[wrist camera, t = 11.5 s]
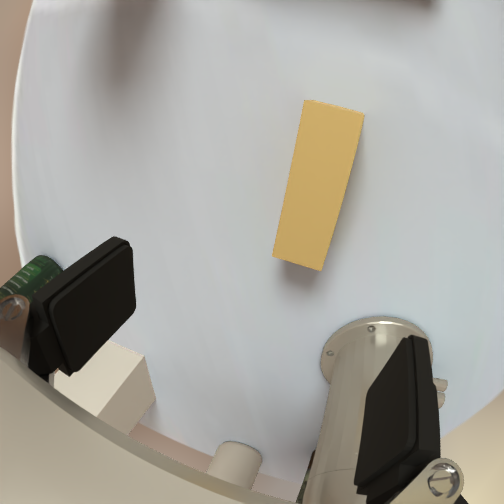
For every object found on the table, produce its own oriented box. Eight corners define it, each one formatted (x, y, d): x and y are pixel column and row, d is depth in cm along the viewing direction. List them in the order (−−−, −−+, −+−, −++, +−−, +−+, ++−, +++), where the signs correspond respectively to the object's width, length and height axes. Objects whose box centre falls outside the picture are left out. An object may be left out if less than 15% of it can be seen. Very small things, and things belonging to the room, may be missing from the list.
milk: (91, 331, 48) (-5, 435, 26) (144, 355, 45) (47, 482, 24) (107, 375, 54) (32, 468, 32) (156, 398, 51) (82, 507, 29)
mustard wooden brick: (363, 112, 22) (364, 115, 18) (327, 245, 28) (321, 271, 24) (313, 100, 22) (304, 100, 19) (284, 232, 29) (271, 256, 25)
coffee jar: (35, 248, 43) (-47, 308, 28) (63, 260, 42) (-26, 330, 26) (49, 294, 48) (-21, 355, 33) (77, 309, 46) (3, 380, 31)
